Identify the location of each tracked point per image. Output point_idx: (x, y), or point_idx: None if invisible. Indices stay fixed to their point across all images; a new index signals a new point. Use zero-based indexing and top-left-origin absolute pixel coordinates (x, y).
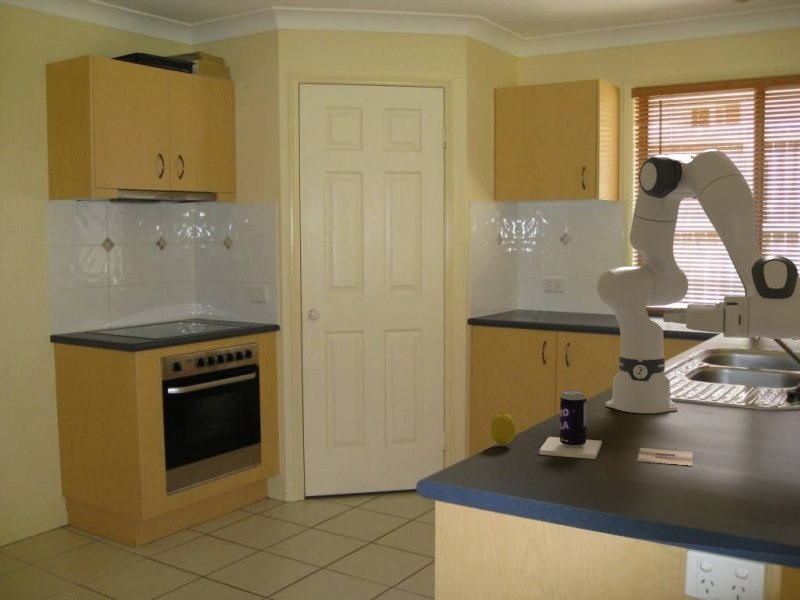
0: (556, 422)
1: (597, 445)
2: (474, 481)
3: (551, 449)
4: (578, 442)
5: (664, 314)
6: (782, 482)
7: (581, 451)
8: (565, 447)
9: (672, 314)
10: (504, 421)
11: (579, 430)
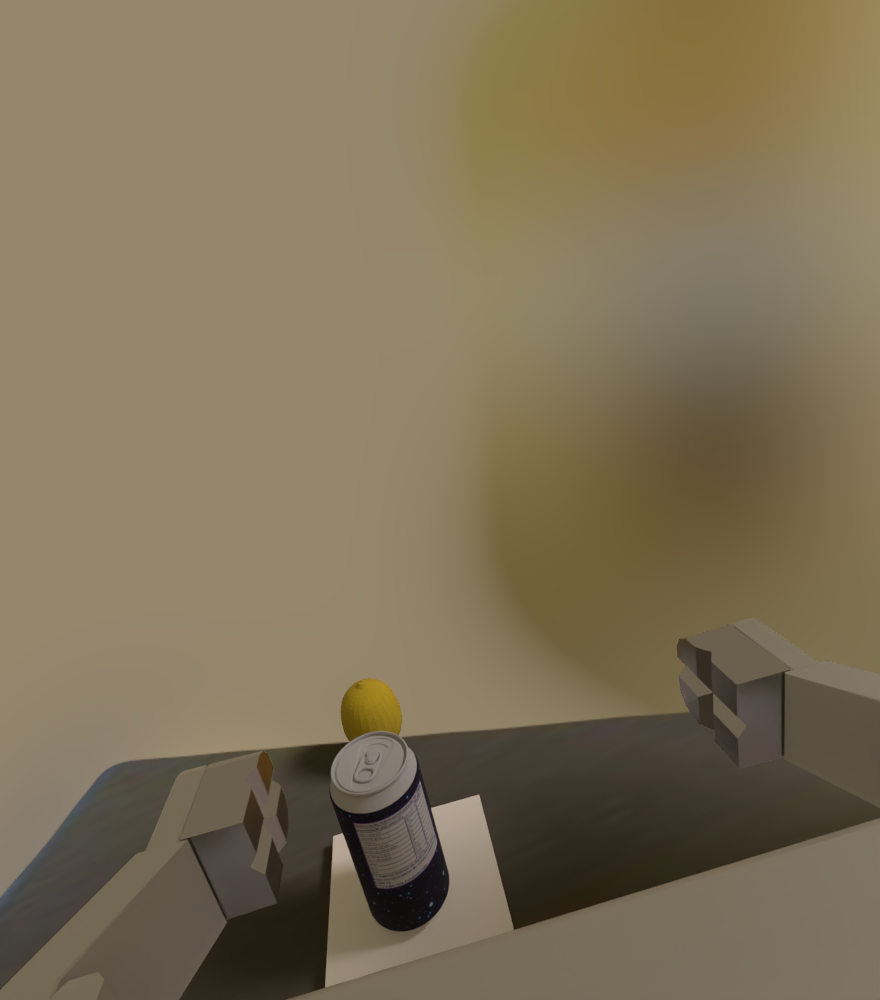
0: (690, 730)
1: None
2: (95, 832)
3: (347, 860)
4: (373, 913)
5: (182, 776)
6: None
7: (349, 952)
8: None
9: (136, 861)
10: (342, 707)
11: (364, 887)
